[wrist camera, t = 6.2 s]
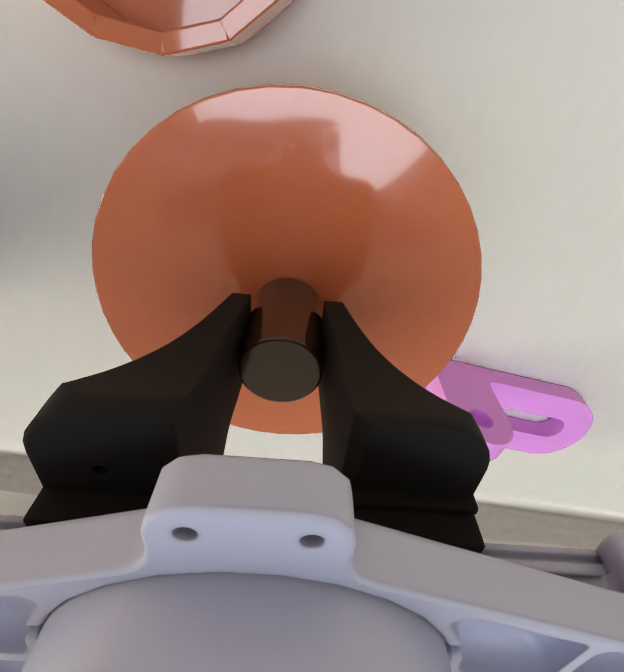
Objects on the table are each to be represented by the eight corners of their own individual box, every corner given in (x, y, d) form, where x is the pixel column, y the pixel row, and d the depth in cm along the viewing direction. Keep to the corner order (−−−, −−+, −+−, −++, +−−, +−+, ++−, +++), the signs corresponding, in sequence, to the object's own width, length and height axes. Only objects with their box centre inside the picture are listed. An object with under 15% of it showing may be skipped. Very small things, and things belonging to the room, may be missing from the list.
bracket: (397, 412, 30) (417, 497, 24) (429, 355, 26) (460, 437, 21) (551, 444, 31) (603, 530, 26) (598, 394, 28) (669, 479, 23)
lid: (183, 430, 20) (150, 522, 16) (26, 131, 12) (-111, 165, 8) (463, 399, 18) (502, 490, 14) (485, 35, 11) (582, 24, 7)
